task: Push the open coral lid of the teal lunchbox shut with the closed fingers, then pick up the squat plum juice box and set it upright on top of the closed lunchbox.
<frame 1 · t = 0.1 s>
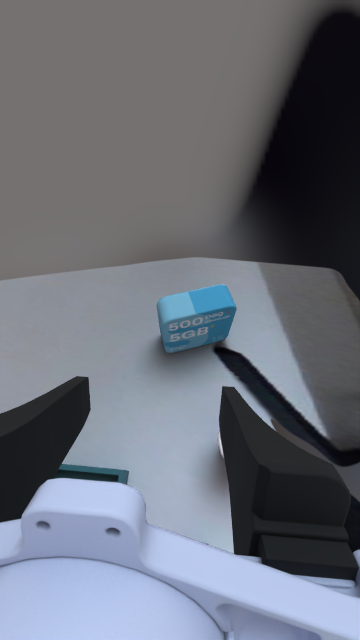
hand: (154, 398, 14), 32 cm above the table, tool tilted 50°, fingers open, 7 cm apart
lunchbox: (79, 522, 38), on the table
data package: (193, 337, 52), on the table
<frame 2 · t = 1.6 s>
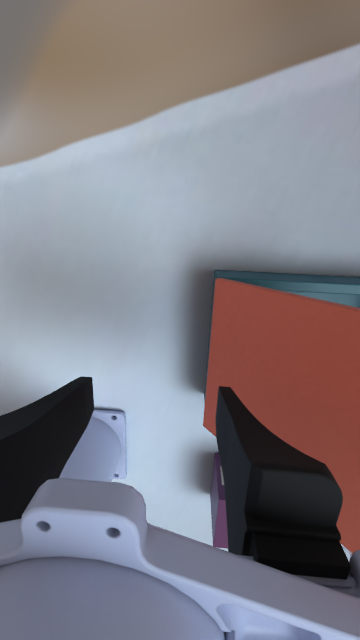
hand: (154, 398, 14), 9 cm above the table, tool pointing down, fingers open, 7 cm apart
lunchbox: (288, 341, 23), on the table
lunchbox lid: (305, 409, 14), point 9 cm above the table, hinge at 50.0°
juice box: (234, 476, 28), on the table
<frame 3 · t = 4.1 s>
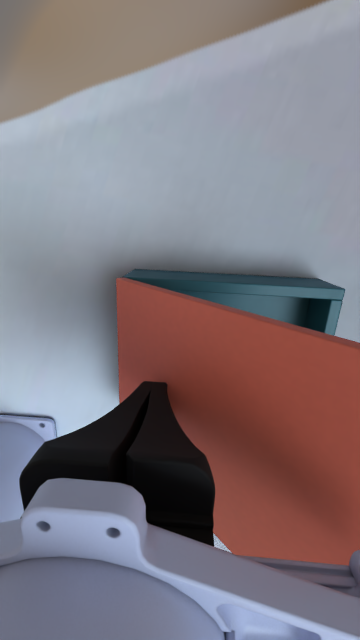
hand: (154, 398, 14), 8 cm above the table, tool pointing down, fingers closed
lunchbox: (218, 345, 22), on the table
lunchbox lid: (199, 417, 13), point 9 cm above the table, hinge at 44.1°, touching gripper
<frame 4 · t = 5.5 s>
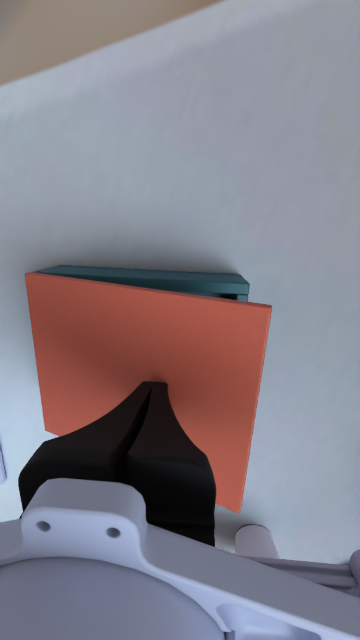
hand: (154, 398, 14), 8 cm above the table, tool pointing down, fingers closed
smoothie: (252, 535, 28), on the table
lunchbox: (148, 341, 22), on the table
lunchbox lid: (128, 384, 16), point 7 cm above the table, hinge at 20.5°
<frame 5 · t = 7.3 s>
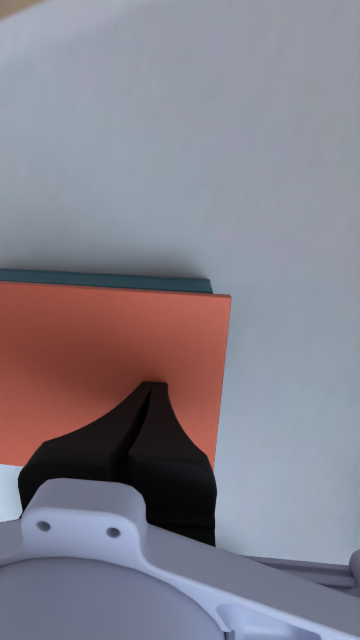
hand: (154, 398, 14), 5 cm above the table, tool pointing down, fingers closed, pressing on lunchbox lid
lunchbox: (107, 355, 19), on the table
lunchbox lid: (90, 389, 15), point 4 cm above the table, hinge at 1.5°, touching gripper
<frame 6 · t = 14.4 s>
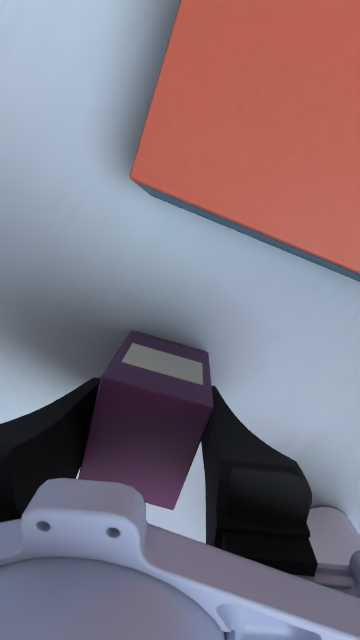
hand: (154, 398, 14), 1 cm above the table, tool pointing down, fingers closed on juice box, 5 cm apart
smoothie: (320, 524, 19), on the table
lunchbox: (345, 118, 11), on the table
juice box: (157, 383, 16), on the table, touching gripper
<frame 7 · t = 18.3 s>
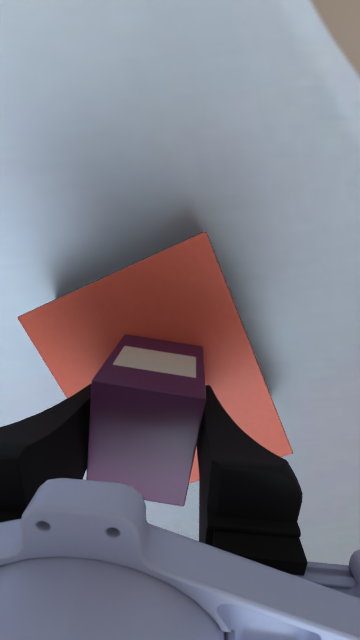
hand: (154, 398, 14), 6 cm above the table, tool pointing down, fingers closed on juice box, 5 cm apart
lunchbox lid: (161, 386, 16), point 4 cm above the table, hinge at 1.0°
juice box: (157, 384, 16), point 5 cm above the table, touching gripper
when the fingers open (6 cm above the table, at t = 18.4 s): juice box stays where it is, resting on lunchbox lid.
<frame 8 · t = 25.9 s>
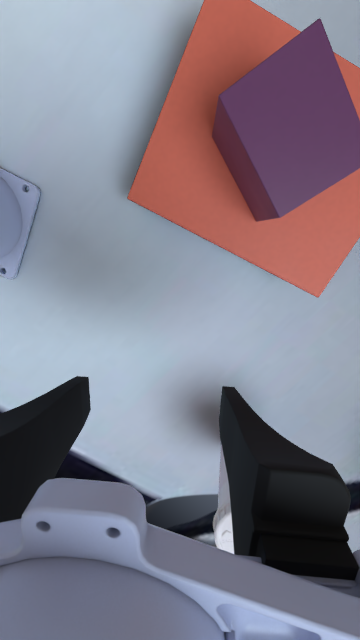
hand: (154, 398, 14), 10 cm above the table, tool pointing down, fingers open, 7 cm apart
smoothie: (239, 434, 28), on the table
lunchbox lid: (272, 161, 16), point 4 cm above the table, hinge at -0.2°, touching juice box
juice box: (267, 158, 16), point 4 cm above the table, touching lunchbox lid
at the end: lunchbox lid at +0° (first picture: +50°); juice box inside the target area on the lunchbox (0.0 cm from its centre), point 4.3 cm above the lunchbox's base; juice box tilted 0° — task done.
